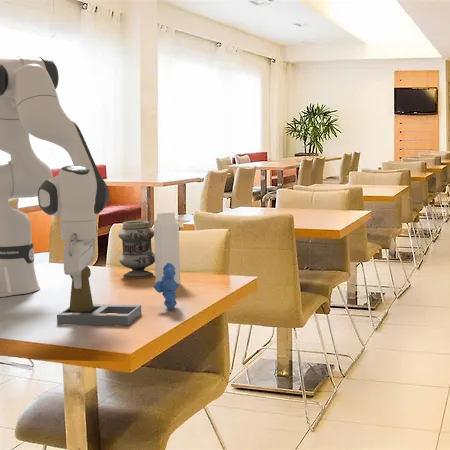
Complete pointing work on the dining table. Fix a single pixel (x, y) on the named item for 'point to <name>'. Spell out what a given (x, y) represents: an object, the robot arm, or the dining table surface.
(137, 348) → the dining table surface
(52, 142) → the robot arm
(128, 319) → the panel
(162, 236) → the milk
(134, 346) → the dining table surface
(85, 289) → the cork
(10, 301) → the dining table surface
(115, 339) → the dining table surface
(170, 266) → the grapes
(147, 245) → the apothecary jar
